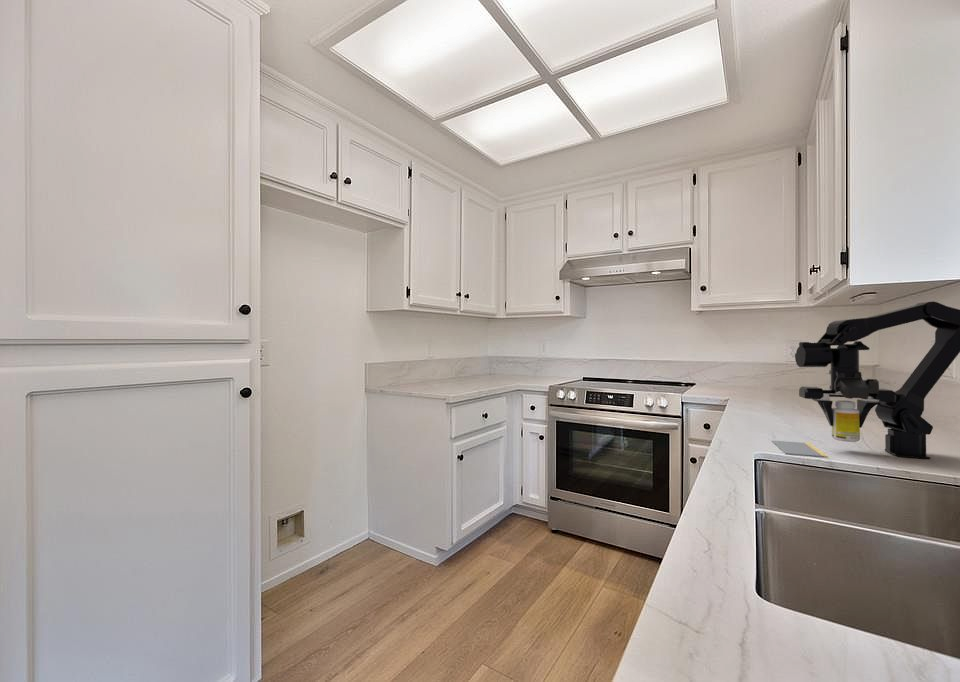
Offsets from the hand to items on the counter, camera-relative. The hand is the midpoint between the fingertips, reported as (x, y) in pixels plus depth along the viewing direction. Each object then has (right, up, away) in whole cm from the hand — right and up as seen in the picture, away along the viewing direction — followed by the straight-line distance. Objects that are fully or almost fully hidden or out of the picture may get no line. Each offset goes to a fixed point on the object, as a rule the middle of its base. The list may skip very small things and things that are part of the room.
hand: (845, 426), depth 111 cm
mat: (-10, -7, +4) cm, 13 cm away
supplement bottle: (0, -4, 0) cm, 4 cm away
